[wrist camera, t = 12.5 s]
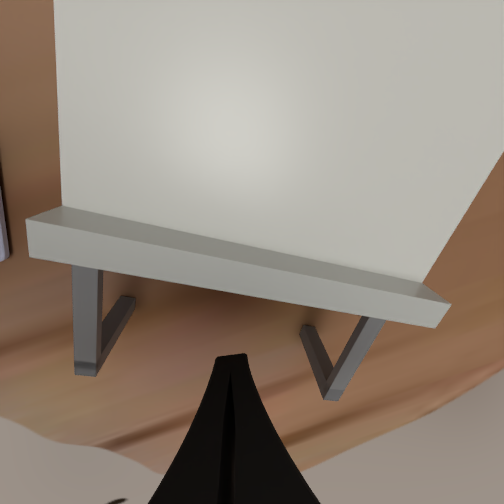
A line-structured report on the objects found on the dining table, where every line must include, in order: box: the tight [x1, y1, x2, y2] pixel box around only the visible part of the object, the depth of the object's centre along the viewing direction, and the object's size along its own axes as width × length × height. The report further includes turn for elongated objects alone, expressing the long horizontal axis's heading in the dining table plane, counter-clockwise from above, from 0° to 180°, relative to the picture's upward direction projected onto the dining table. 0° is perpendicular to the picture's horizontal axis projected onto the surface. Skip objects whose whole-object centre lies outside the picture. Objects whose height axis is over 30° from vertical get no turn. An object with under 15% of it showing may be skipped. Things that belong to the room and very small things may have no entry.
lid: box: [26, 0, 504, 328], centre depth 7 cm, size 15×13×2 cm
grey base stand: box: [72, 265, 386, 401], centre depth 12 cm, size 15×24×6 cm, turn 165°
